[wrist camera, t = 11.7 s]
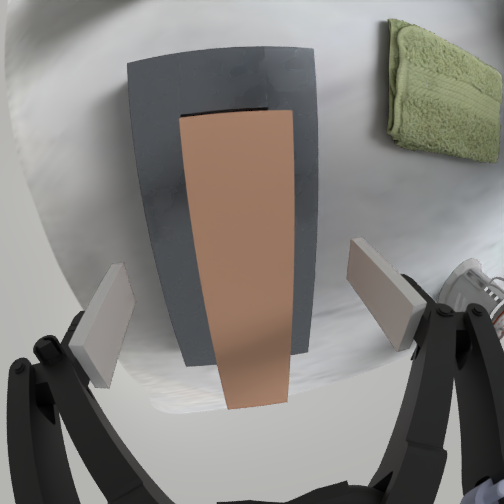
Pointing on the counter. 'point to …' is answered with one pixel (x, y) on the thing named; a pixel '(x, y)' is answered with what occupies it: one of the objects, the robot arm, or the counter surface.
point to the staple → (244, 245)
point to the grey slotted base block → (173, 176)
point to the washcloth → (441, 96)
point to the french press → (473, 292)
